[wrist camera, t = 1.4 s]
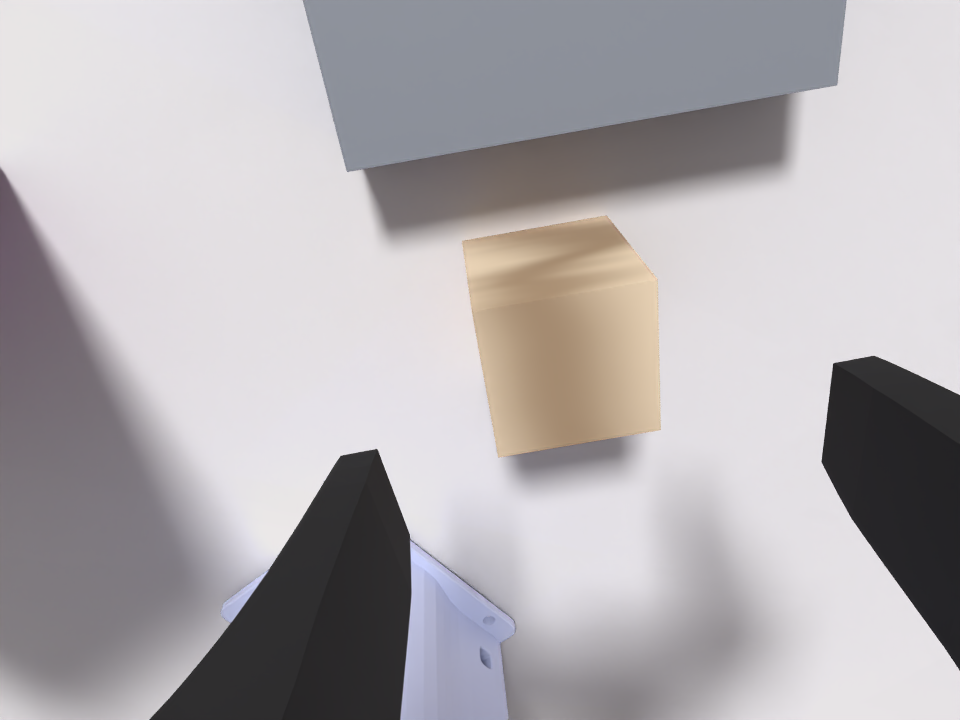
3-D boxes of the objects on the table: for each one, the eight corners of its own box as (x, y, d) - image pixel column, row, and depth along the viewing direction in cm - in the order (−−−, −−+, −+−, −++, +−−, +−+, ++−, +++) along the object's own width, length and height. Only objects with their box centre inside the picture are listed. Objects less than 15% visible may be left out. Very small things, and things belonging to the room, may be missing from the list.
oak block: (606, 215, 20) (657, 279, 15) (613, 342, 22) (660, 430, 17) (461, 240, 20) (471, 311, 15) (483, 364, 22) (498, 457, 17)
